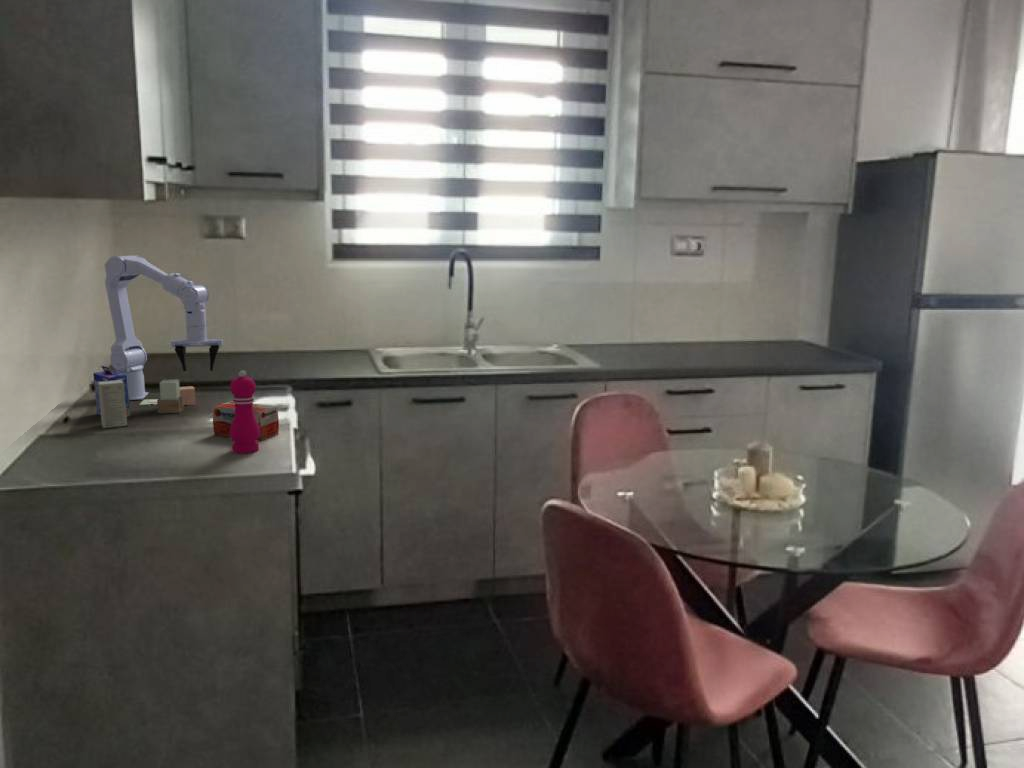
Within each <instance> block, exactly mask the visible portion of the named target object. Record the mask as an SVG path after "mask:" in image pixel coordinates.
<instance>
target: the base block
mask: <svg viewBox="0 0 1024 768" xmlns="http://www.w3.org/2000/svg"><path fill="white" fill-rule="evenodd" d="M156 406H157V413H158V414H179V412H180V413H181V412H182V411H183V410H185V406H184V396H180V397H179V398H178V399H175V400H161V398H160V397H159V398H158V400H157V405H156Z"/></svg>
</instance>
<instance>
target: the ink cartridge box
mask: <svg viewBox="0 0 1024 768" xmlns="http://www.w3.org/2000/svg"><path fill="white" fill-rule="evenodd" d="M101 368H102V369H103V371H97V372H96V371H95V372H92V375H93V383H94V392H95V393H94V395H95V396H94V397H95V403H96V413H97V415H99V416H101V410H100V400H99V389H98V382H102V381H113V380H122V381H123V382H124V393H125V405H126V416H127V418H128V417H131V407H130V400H129V394H128V385H127V375H125V374H121V373H117V371H114V370H111V369H110V368H109V367H108V366H105V365H101Z"/></svg>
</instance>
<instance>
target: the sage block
mask: <svg viewBox="0 0 1024 768" xmlns="http://www.w3.org/2000/svg"><path fill="white" fill-rule="evenodd" d="M179 387H180V379H162V380H161V381H159V394H160V397H159V399H160V398H161V400H175V399H178V398H179V397H180V388H179Z"/></svg>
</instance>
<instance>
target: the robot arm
mask: <svg viewBox="0 0 1024 768" xmlns="http://www.w3.org/2000/svg"><path fill="white" fill-rule="evenodd" d="M104 270H105V281H104V282H105V288H106V294H107V299H108V305H109V310H110V314H111V315H110V317H111V321H112V324H113V325H112V326H113V330H114V337H115V341H114V342H113V344H112V345H111V347H110V352H111V354H110V359H109V360H110V364H111V367H113V369H114V370H115V371H114V372H116V373H121V374H125V375H127V385H128V394H129V401H130V400H131V401H132V400H133V401H136V400H138V401H139V400H141V401H143V400H144V399H145V398H146V396H148V394H149V392H148V391H146V388H145V375H144V372H143V369H144V368H145V367H144V365H145V364H146V363H147V360H148V354H147V352H146V350H145V348H144V347H143V343H142V341H140V339H138V338H137V337H136V335H135V328H134V323H133V318H132V313H131V308H130V307H131V306H130V302H129V297H128V292H127V286H128V285H129V284H130V283H131V281H133V280H135V279H136V278H137V277H139V276H141V275H142V276H143V277H145V278H148V279H150V280H152V281H155V282H157V283H158V284H161V285H162V289H163V290H164V291H166V292H168V293H169V294H172V295H173V296H174V297H177V298H179V299H180V301H181V303H182V304H183V309H184V311H185V312H184V313H185V330H186V331H185V332H186V339H171V340H170V348H174V352H175V354H176V355H177V357H178V359H179V361H180V364H181V367H182V371H183V372H187V370H188V366H187V365H188V364H187V354H186V353H187V348H193V347H194V348H195V347H196V348H197V347H200V348H201V347H208V351H209V371H211V372H212V371H214V369H215V366H214V365H215V361H216V358H217V356H218V355H217V354H218V352H219V350H220V348H223V346H224V344H223V343H224V342H223V341H224V339H215V338H214V339H210V338H208V336H207V335H208V334H207V332H208V331H207V312H206V303H207V302H208V300H209V297H210V292H209V290H208V288H207V287H205V286H204V284H201V283H200V284H194V282H193V281H192V280H187V279H185V278H183V277H182V276H181V274H180V273H178V272H175V273H174V272H172V273H171V272H170V273H167V272H165V271H163V270H162V269H160V268H158V267H157V266H155V265H154V264H152V263H150V262H149V261H147V259H146V258H144V257H141V256H140V255H139V254H138V255H137V254H132V255H119V256H118V255H113V256H110V257H109V259H108V260H107V261H106V262H105V263H104Z"/></svg>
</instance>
